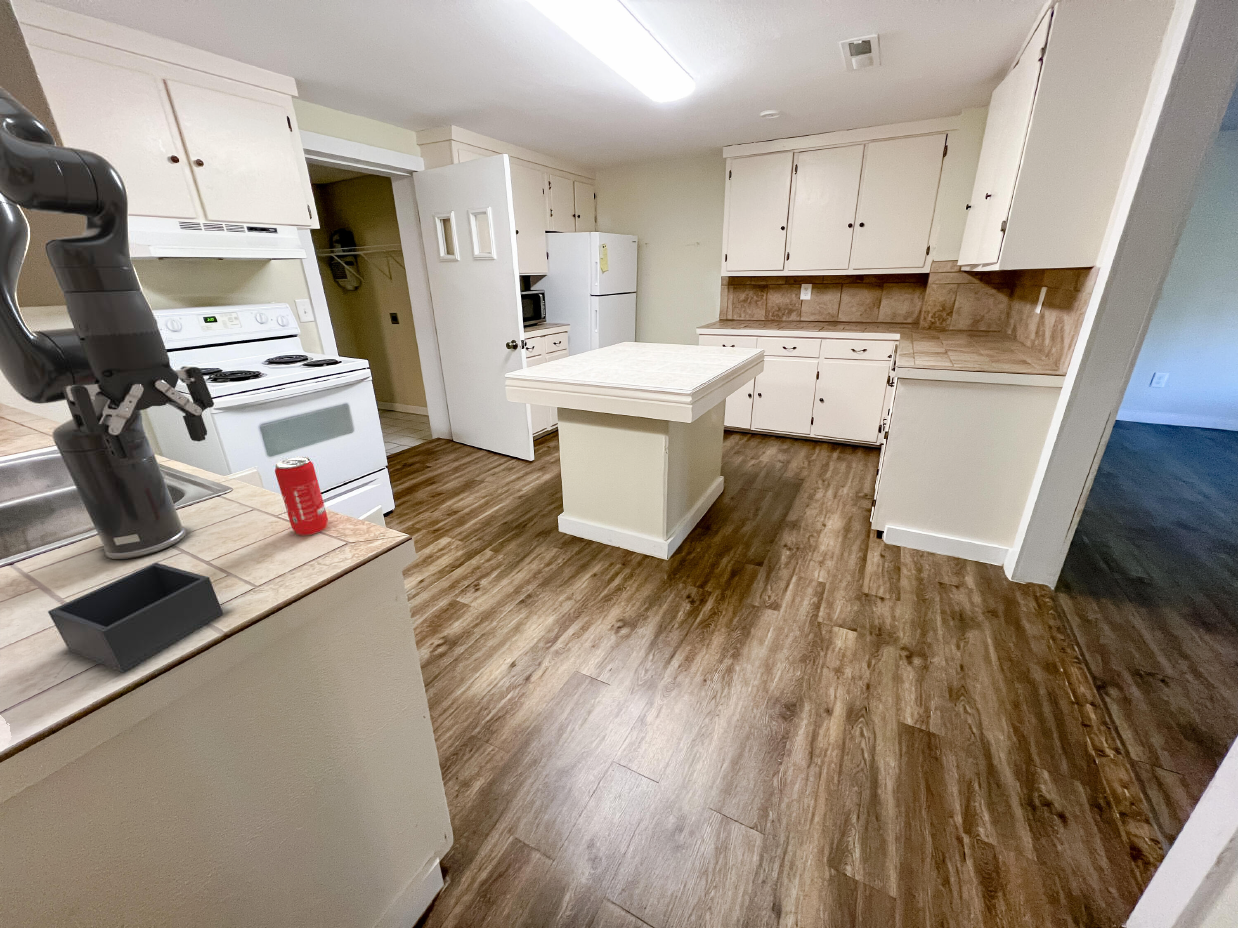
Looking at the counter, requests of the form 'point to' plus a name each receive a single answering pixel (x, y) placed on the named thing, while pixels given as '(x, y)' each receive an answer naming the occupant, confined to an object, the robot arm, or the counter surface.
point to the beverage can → (301, 495)
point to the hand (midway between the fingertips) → (164, 450)
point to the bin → (136, 615)
